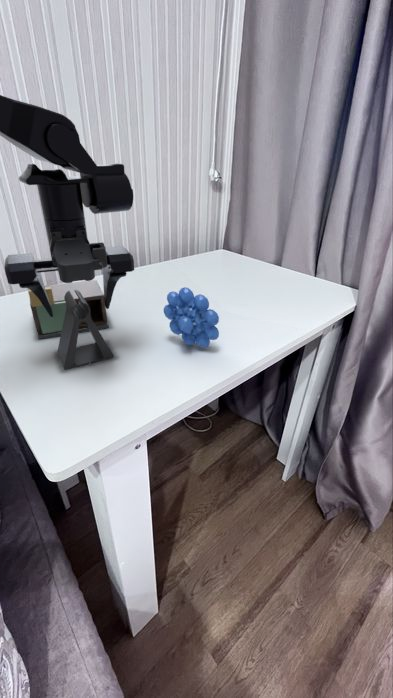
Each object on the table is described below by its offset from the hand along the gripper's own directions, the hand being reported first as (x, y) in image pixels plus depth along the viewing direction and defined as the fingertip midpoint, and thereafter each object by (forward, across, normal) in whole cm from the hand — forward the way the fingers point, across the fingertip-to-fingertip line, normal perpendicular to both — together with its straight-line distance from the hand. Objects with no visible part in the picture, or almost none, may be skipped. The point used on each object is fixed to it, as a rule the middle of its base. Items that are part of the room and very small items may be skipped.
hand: (80, 312), depth 57 cm
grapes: (+9, +19, -4) cm, 21 cm away
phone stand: (+9, 0, 0) cm, 9 cm away
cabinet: (+9, -1, +15) cm, 18 cm away
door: (+8, -4, +10) cm, 13 cm away
